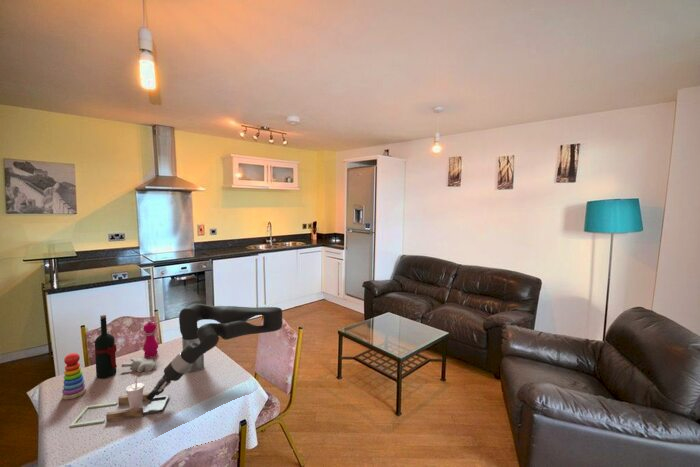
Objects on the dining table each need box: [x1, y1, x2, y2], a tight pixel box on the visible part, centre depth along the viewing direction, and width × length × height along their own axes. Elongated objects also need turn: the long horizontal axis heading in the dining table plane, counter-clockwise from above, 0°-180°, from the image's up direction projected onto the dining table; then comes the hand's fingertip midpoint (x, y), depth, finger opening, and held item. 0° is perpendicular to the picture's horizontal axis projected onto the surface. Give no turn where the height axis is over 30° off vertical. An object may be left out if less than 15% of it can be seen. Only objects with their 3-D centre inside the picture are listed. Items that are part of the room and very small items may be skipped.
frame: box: [68, 401, 118, 428], centre depth 125 cm, size 11×12×1 cm
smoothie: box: [125, 376, 145, 409], centre depth 129 cm, size 6×6×14 cm
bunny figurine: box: [121, 356, 157, 373], centre depth 160 cm, size 10×5×15 cm
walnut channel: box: [105, 392, 151, 423], centre depth 129 cm, size 12×12×3 cm
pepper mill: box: [142, 319, 159, 359], centre depth 174 cm, size 7×7×20 cm
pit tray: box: [143, 394, 170, 416], centre depth 131 cm, size 7×10×1 cm
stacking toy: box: [61, 352, 87, 400], centre depth 137 cm, size 8×8×19 cm
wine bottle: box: [94, 314, 118, 380], centre depth 152 cm, size 8×10×30 cm
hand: (148, 398), depth 129 cm, fingers closed
